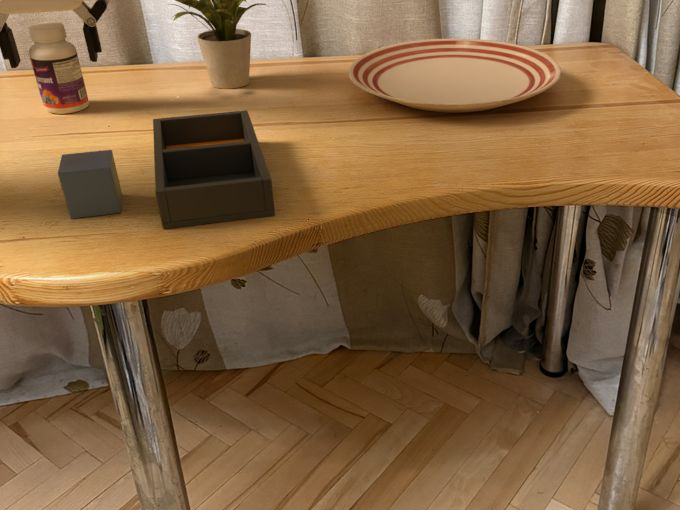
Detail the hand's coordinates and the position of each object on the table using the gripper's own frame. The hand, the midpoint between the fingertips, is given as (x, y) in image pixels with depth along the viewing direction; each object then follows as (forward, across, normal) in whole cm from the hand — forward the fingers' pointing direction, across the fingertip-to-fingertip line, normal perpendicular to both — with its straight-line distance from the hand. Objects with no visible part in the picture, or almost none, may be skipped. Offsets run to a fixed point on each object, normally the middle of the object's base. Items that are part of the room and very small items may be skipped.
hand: (55, 61), depth 90 cm
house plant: (+6, +21, +6) cm, 23 cm away
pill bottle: (+6, 0, 0) cm, 6 cm away
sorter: (+6, +16, -28) cm, 33 cm away
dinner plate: (+6, +49, -7) cm, 50 cm away
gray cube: (+6, +5, -31) cm, 32 cm away
